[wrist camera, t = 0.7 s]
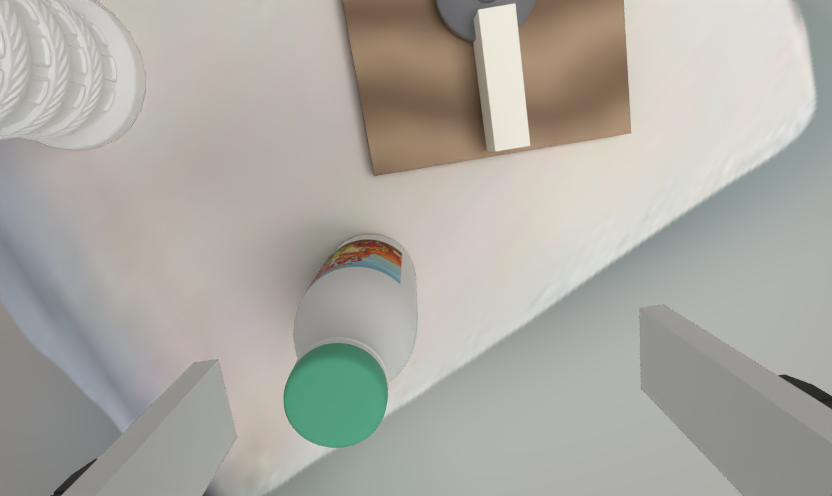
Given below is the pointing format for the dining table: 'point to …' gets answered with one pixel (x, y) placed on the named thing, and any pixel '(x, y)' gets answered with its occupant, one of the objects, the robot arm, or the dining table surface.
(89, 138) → the decorative container
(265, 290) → the dining table surface
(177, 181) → the dining table surface
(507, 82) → the tuning dial
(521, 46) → the board
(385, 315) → the milk bottle
